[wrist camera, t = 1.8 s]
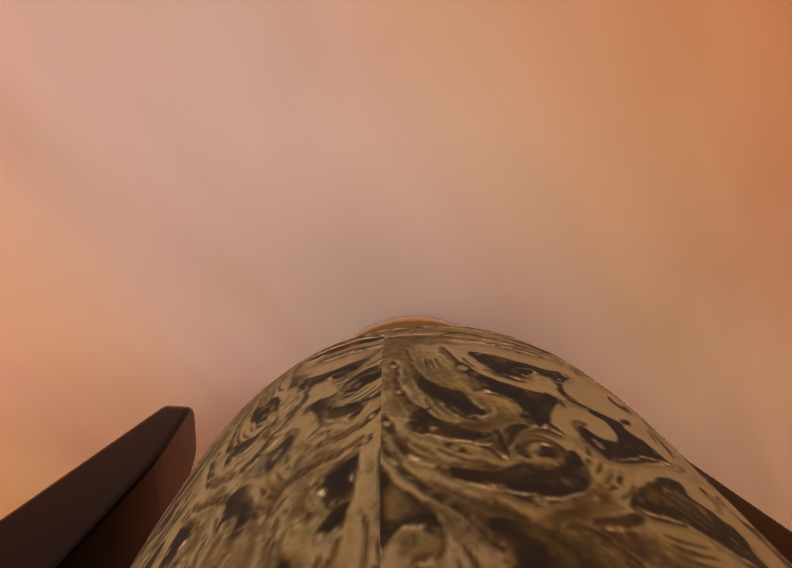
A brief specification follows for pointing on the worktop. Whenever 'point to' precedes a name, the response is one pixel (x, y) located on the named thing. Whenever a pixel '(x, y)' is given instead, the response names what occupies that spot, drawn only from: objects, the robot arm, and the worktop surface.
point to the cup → (446, 469)
